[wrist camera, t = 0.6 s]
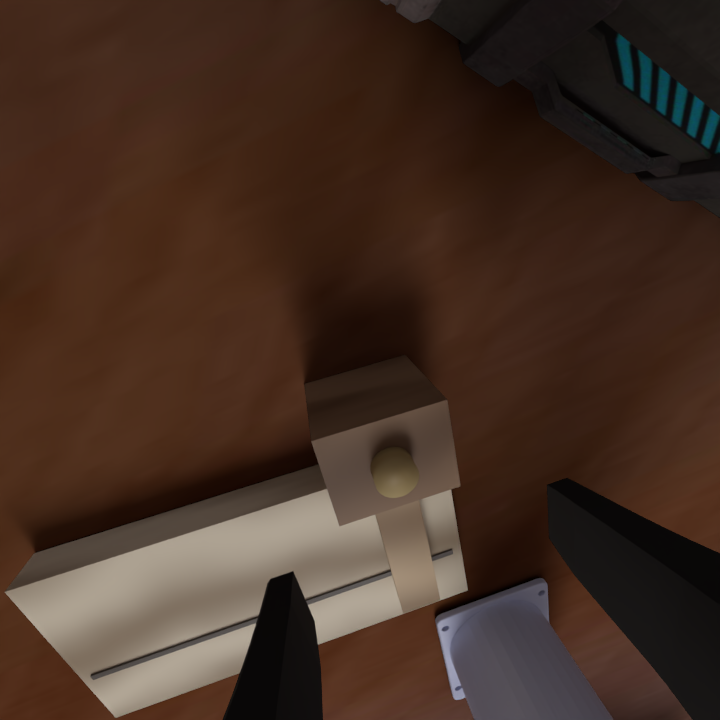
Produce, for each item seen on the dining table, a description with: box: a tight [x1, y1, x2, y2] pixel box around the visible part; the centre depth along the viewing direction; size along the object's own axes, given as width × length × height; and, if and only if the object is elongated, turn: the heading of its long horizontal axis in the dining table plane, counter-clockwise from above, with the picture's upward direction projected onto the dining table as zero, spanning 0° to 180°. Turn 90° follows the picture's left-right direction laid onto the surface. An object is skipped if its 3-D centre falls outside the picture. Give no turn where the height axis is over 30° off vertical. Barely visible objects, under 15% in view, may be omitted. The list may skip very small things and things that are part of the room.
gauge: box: [304, 355, 460, 613], centre depth 17 cm, size 12×5×6 cm, turn 13°
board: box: [5, 464, 468, 718], centre depth 19 cm, size 10×20×2 cm, turn 103°
